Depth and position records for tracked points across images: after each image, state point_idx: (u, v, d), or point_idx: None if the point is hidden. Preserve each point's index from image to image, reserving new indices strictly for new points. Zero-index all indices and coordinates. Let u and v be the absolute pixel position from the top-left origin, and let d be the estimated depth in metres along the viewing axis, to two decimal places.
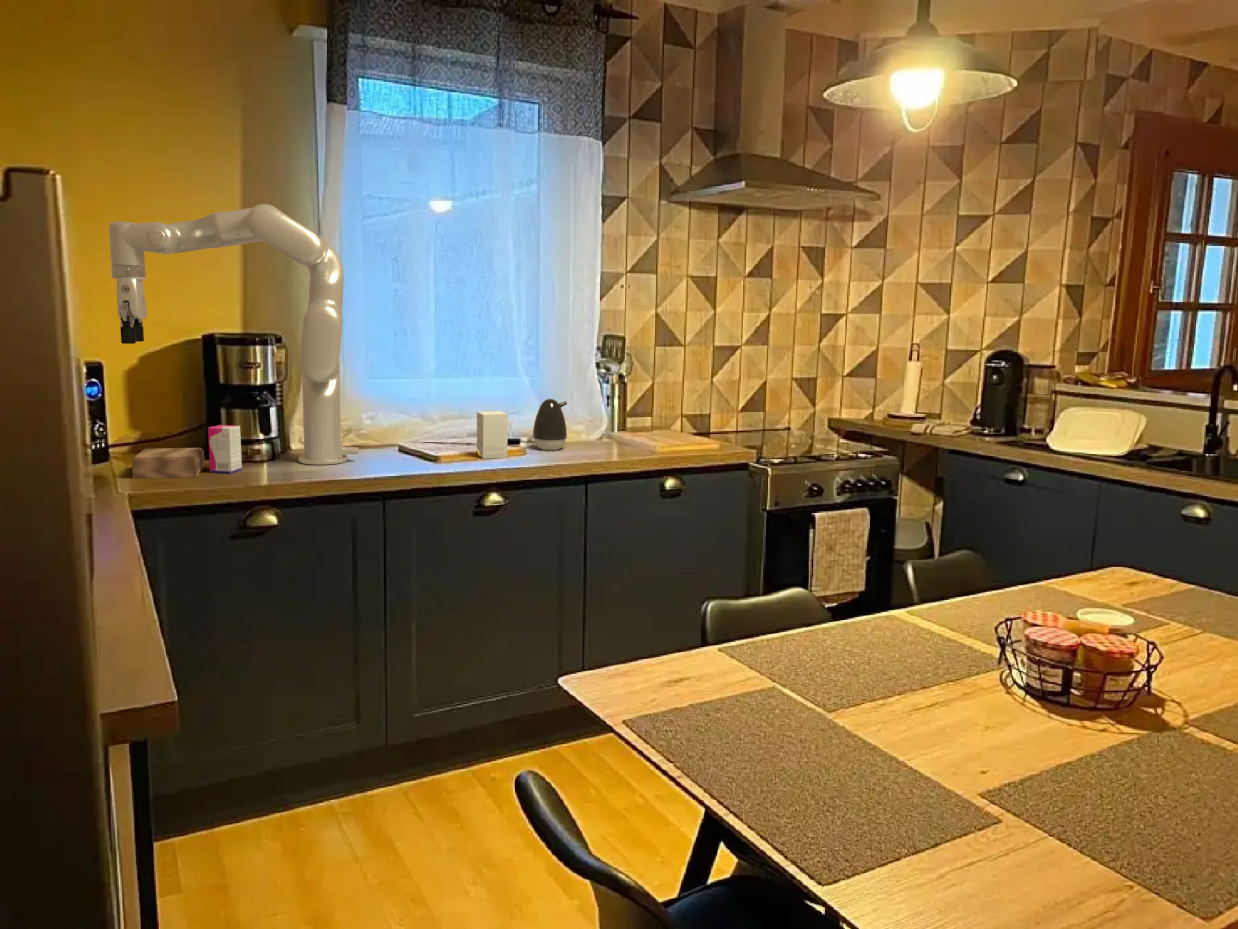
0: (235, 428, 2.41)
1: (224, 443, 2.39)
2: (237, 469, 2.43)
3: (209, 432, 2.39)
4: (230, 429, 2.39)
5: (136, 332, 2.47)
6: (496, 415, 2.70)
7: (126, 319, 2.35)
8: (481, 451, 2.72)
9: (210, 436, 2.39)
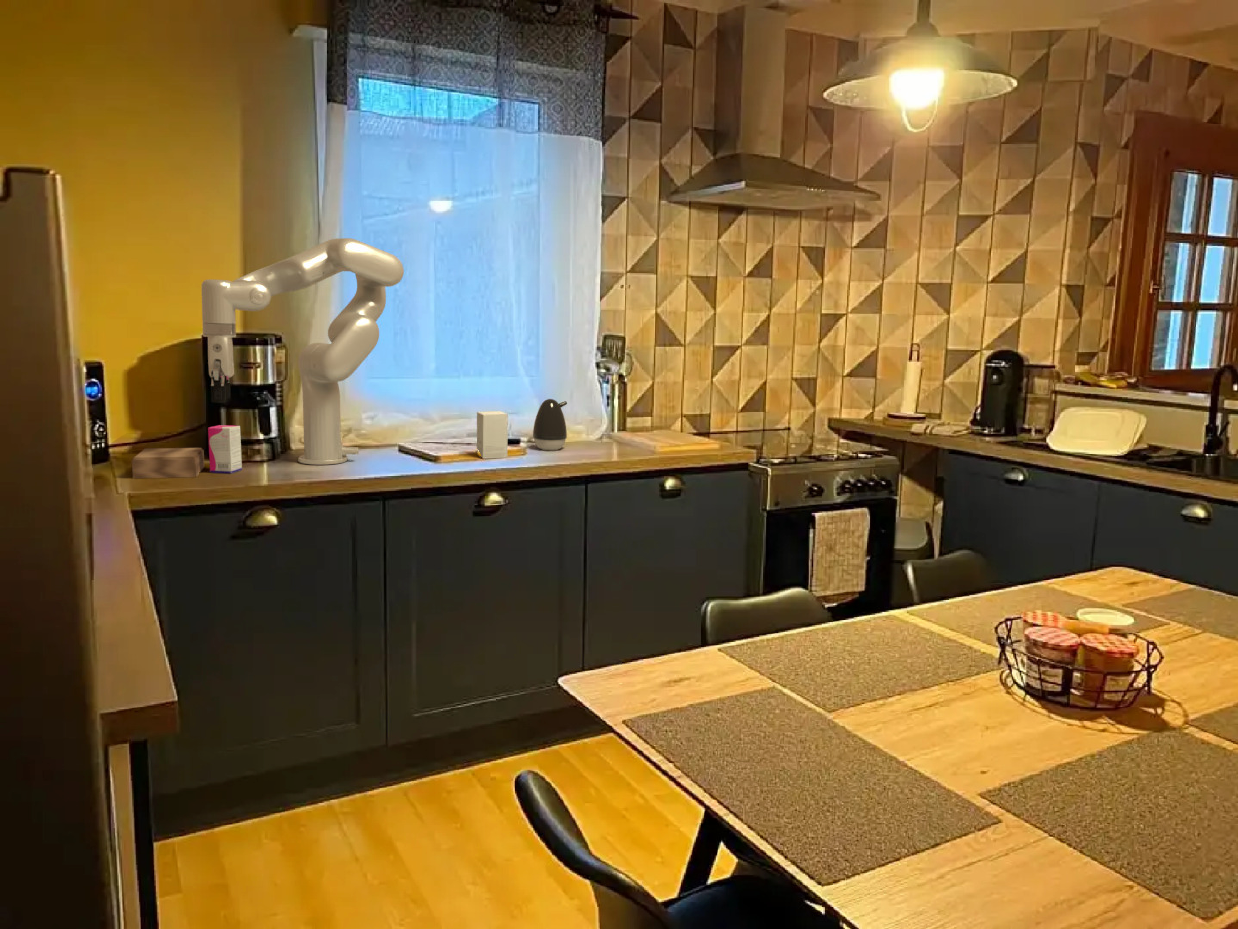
0: (235, 428, 2.41)
1: (224, 443, 2.39)
2: (237, 469, 2.43)
3: (209, 432, 2.39)
4: (230, 429, 2.39)
5: None
6: (496, 415, 2.70)
7: (218, 378, 2.32)
8: (481, 451, 2.72)
9: (210, 436, 2.39)
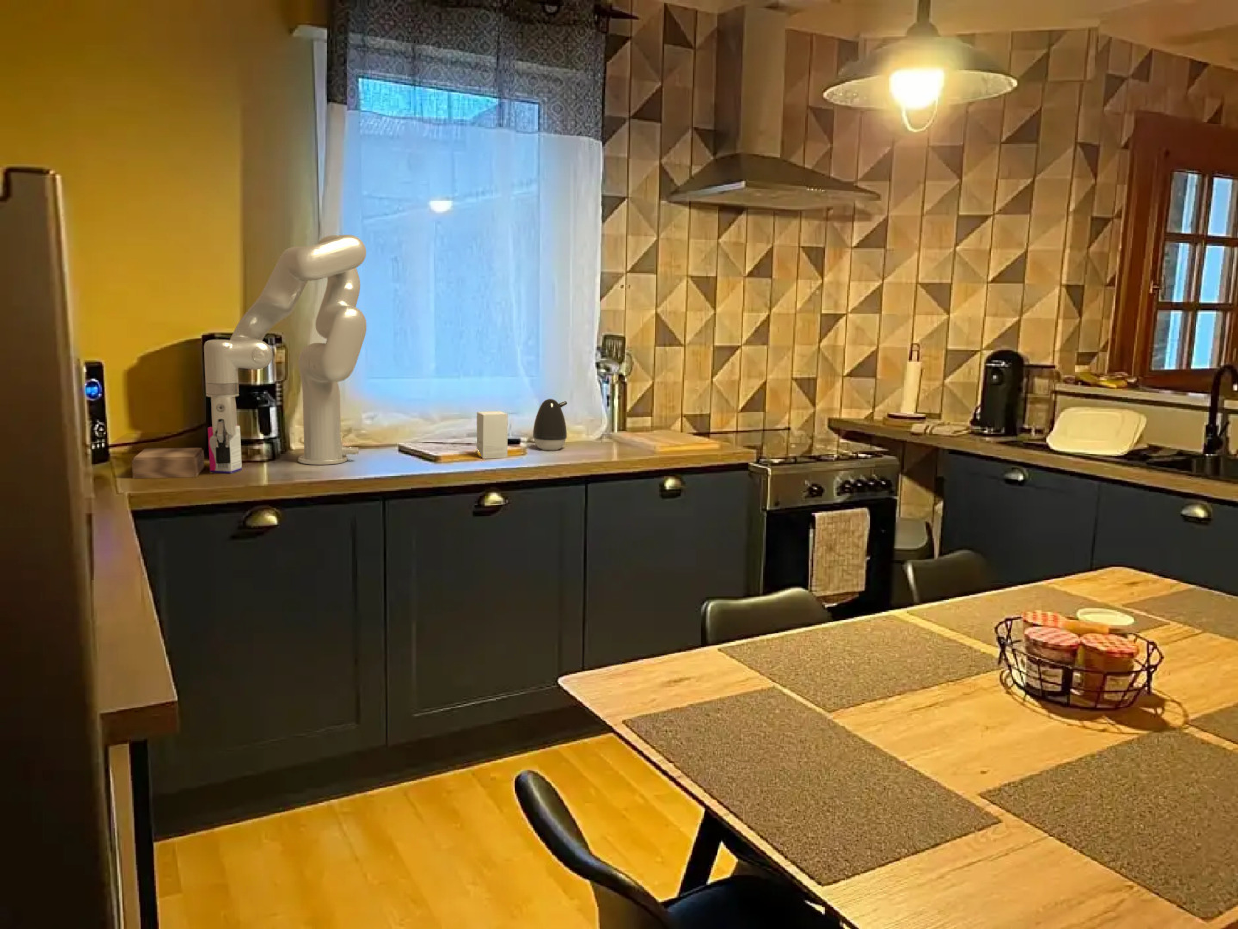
0: None
1: None
2: (237, 469, 2.43)
3: (209, 432, 2.39)
4: None
5: None
6: (496, 415, 2.70)
7: (222, 441, 2.35)
8: (481, 451, 2.72)
9: (210, 436, 2.39)
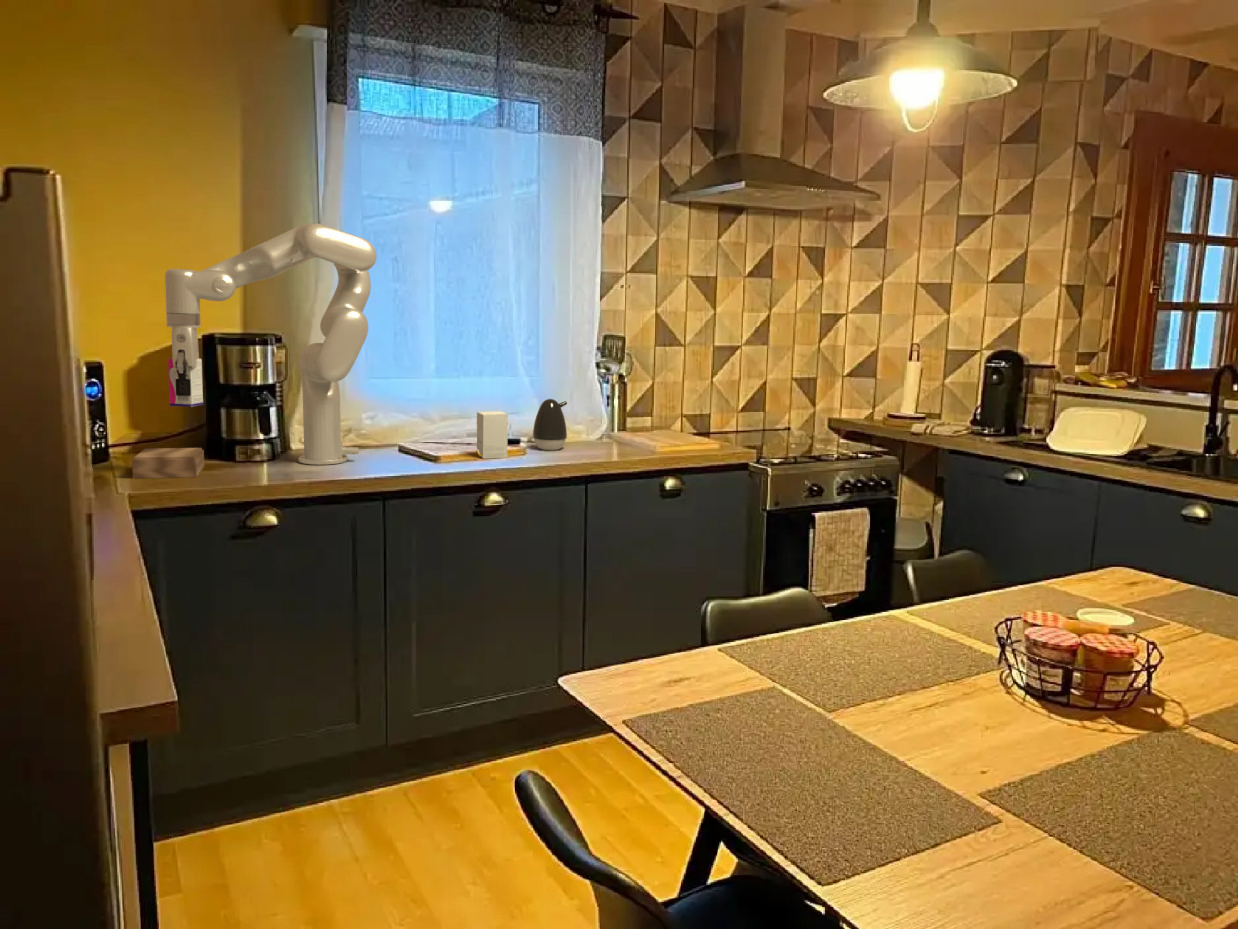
0: None
1: None
2: (198, 403, 2.38)
3: (169, 364, 2.34)
4: None
5: None
6: (496, 415, 2.70)
7: (183, 371, 2.30)
8: (481, 451, 2.72)
9: (170, 368, 2.34)
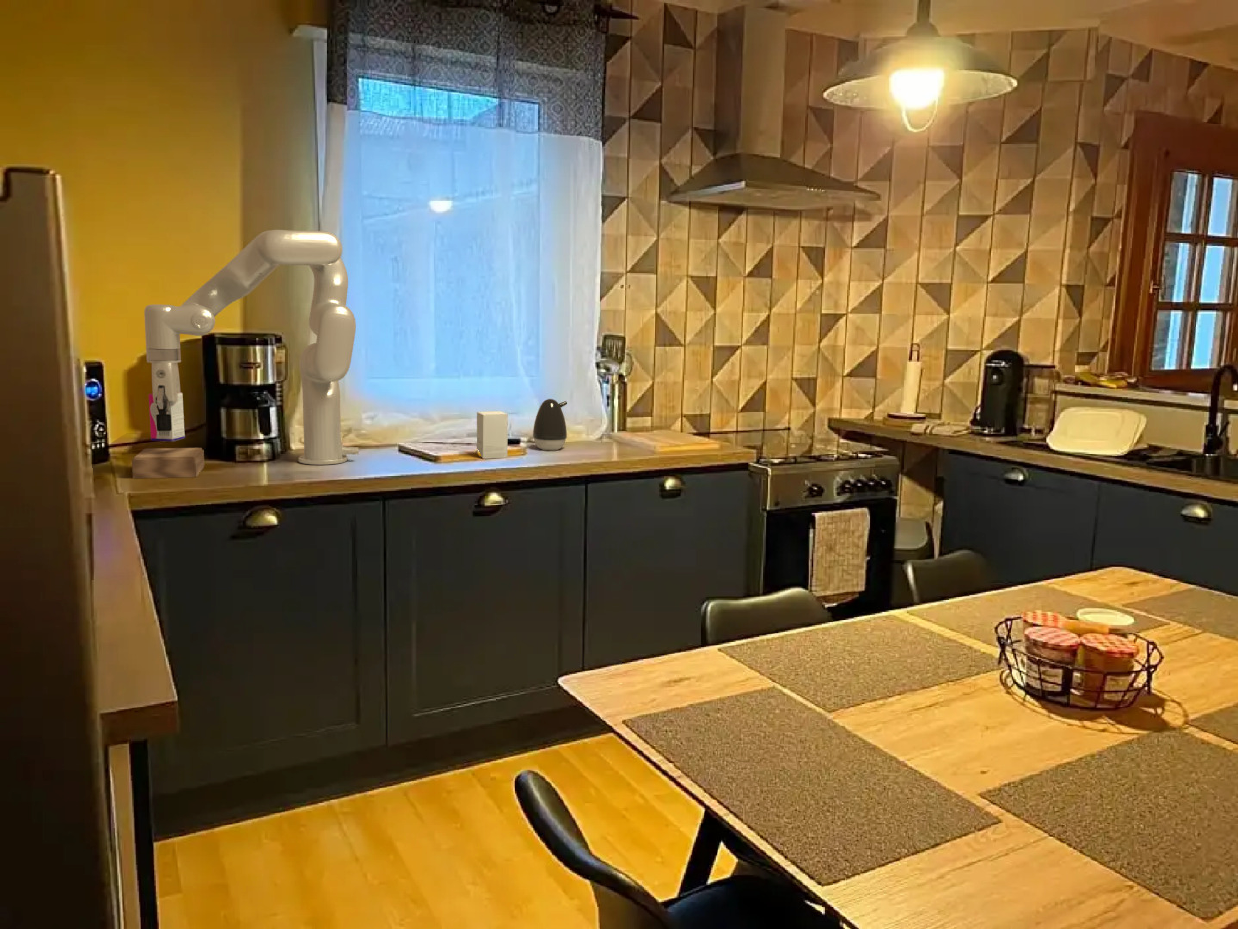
0: None
1: None
2: (179, 437, 2.38)
3: (150, 399, 2.34)
4: None
5: None
6: (496, 415, 2.70)
7: (163, 407, 2.30)
8: (481, 451, 2.72)
9: (151, 403, 2.34)
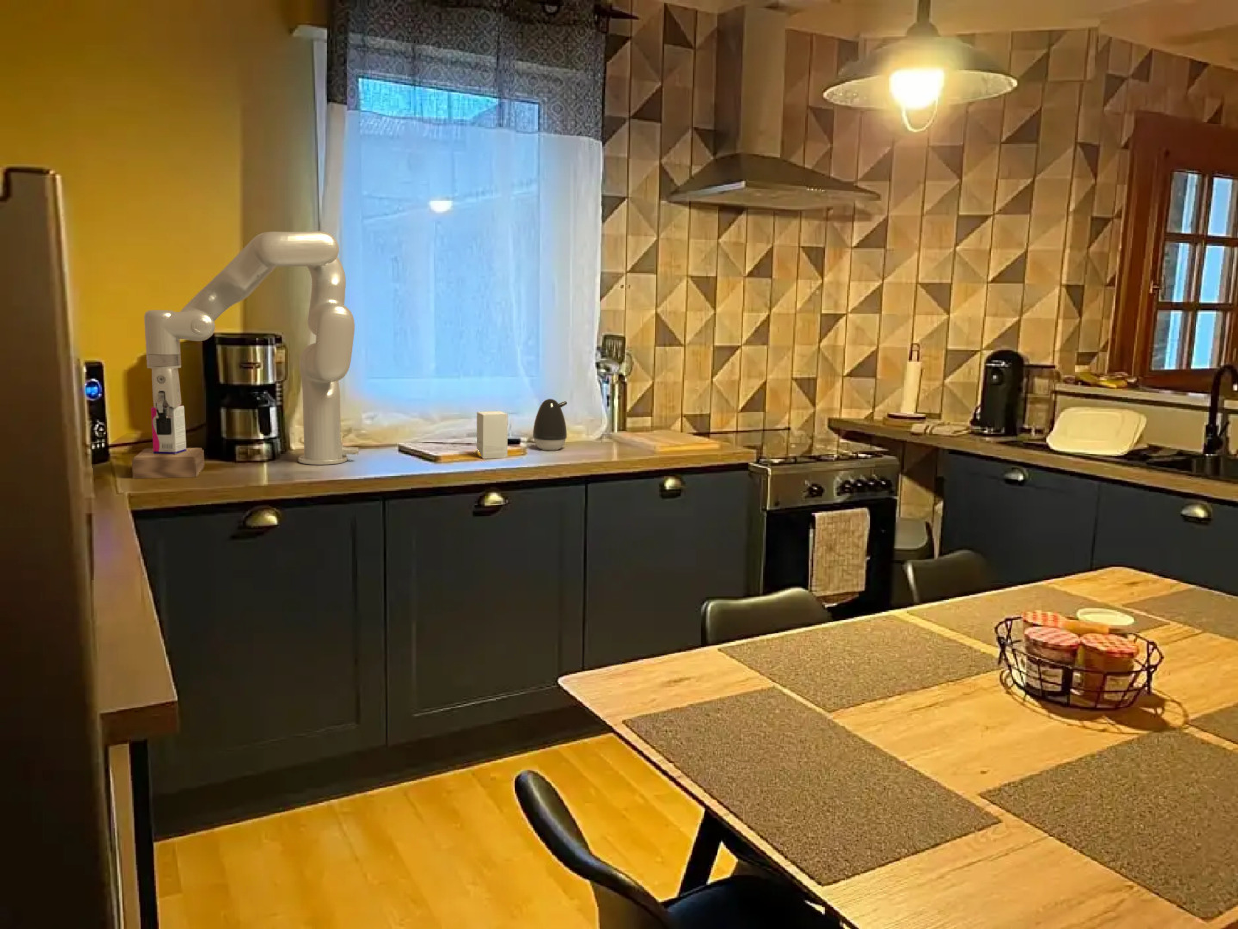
0: (179, 408, 2.37)
1: None
2: (181, 450, 2.39)
3: (152, 412, 2.35)
4: (174, 409, 2.35)
5: None
6: (496, 415, 2.70)
7: (162, 411, 2.30)
8: (481, 451, 2.72)
9: (153, 416, 2.35)
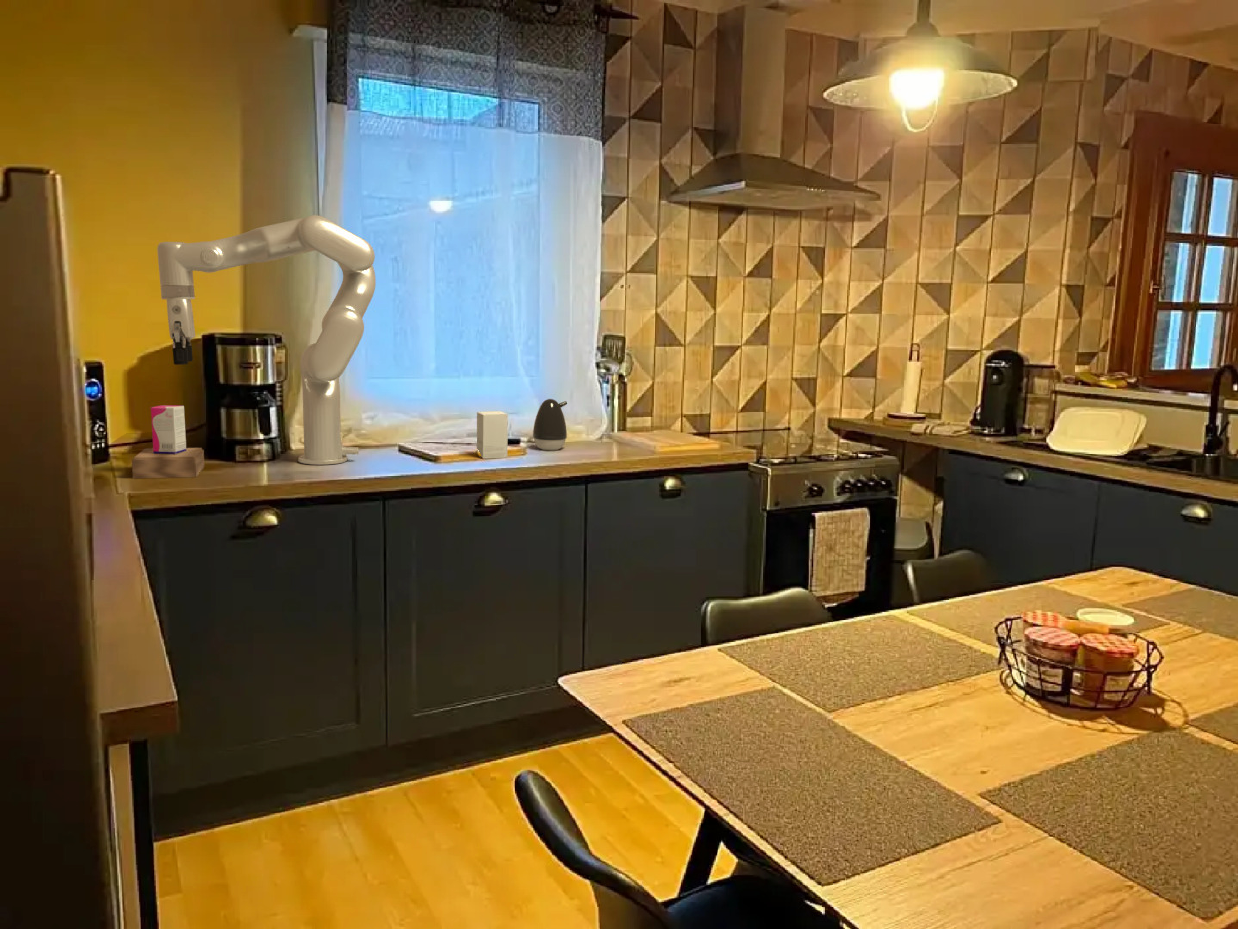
0: (179, 408, 2.37)
1: (167, 423, 2.35)
2: (181, 450, 2.39)
3: (152, 412, 2.35)
4: (174, 409, 2.35)
5: None
6: (496, 415, 2.70)
7: (179, 340, 2.33)
8: (481, 451, 2.72)
9: (153, 416, 2.35)
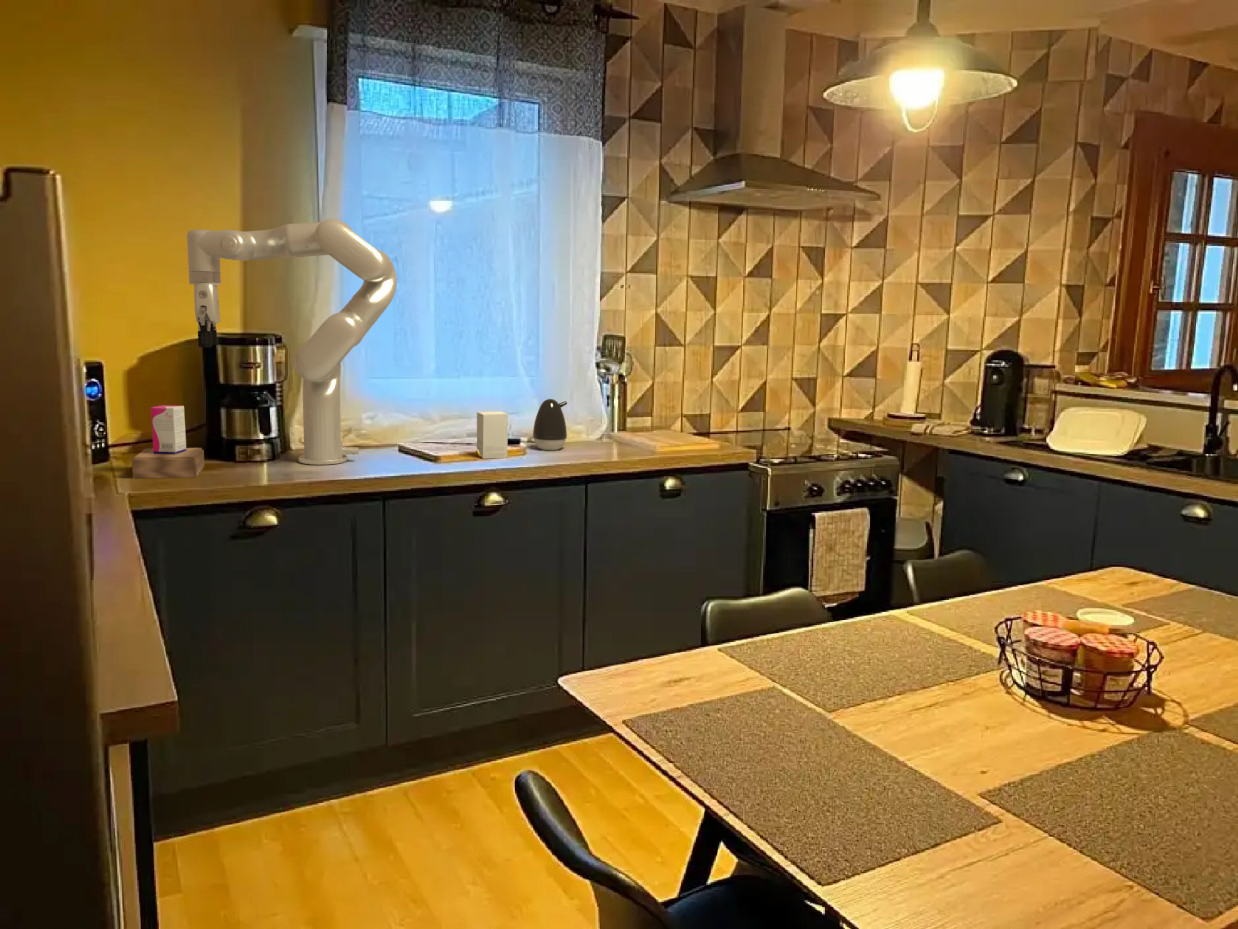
0: (179, 408, 2.37)
1: (168, 423, 2.35)
2: (181, 450, 2.39)
3: (152, 412, 2.35)
4: (174, 409, 2.35)
5: None
6: (496, 415, 2.70)
7: (204, 323, 2.43)
8: (481, 451, 2.72)
9: (153, 416, 2.35)
